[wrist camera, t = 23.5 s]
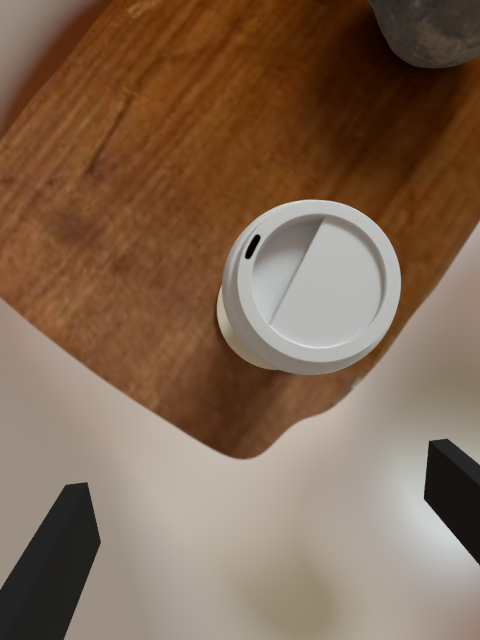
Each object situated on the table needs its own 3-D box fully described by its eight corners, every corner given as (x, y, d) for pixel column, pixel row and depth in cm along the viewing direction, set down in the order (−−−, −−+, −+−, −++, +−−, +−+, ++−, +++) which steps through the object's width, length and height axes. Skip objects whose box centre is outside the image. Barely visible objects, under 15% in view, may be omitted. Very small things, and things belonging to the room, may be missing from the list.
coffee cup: (282, 241, 30) (327, 144, 15) (346, 314, 29) (459, 290, 14) (209, 303, 29) (178, 269, 14) (273, 378, 29) (310, 423, 14)
